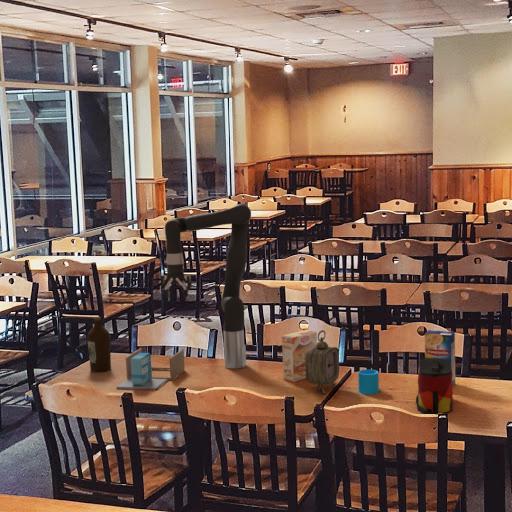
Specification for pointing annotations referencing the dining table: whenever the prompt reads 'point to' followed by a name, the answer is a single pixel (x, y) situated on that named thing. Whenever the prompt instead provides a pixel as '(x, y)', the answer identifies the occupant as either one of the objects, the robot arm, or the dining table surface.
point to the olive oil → (99, 347)
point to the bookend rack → (175, 367)
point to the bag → (435, 386)
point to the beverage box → (441, 347)
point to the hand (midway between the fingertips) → (176, 297)
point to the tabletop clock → (322, 364)
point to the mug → (368, 381)
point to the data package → (141, 368)
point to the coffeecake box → (296, 353)
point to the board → (149, 385)
